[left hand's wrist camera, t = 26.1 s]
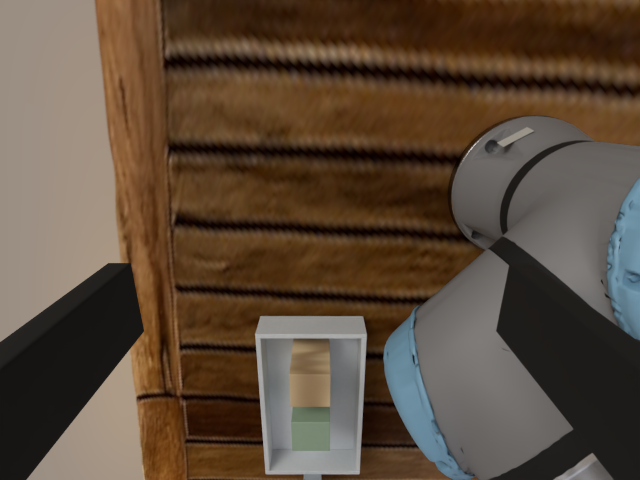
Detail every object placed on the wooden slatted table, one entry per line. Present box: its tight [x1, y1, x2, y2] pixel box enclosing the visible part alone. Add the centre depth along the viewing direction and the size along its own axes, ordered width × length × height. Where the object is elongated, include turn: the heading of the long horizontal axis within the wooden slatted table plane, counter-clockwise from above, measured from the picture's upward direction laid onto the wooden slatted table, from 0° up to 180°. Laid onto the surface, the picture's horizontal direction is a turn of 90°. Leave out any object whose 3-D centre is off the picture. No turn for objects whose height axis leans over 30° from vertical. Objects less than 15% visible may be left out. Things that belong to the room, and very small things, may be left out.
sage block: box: [291, 407, 330, 451], centre depth 46 cm, size 4×4×8 cm
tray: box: [255, 316, 367, 480], centre depth 47 cm, size 32×13×10 cm, turn 0°
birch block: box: [289, 338, 331, 407], centre depth 43 cm, size 4×4×8 cm
